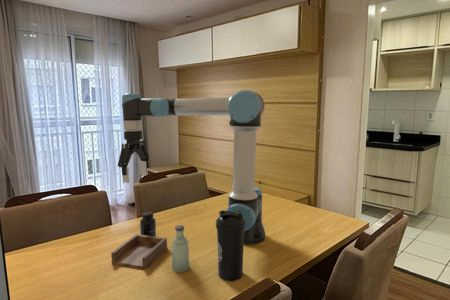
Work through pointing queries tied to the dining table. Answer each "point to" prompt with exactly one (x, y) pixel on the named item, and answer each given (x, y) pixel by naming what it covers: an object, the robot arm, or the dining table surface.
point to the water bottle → (230, 244)
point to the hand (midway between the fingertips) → (135, 178)
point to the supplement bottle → (148, 224)
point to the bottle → (180, 251)
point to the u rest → (139, 251)
